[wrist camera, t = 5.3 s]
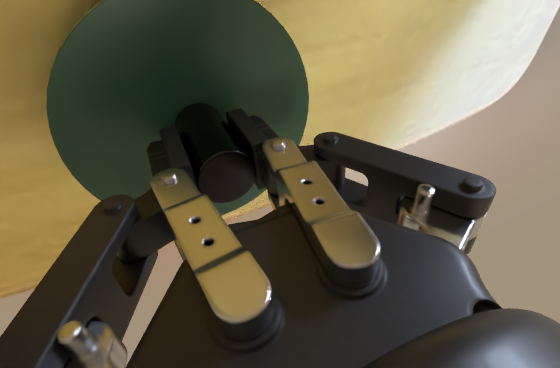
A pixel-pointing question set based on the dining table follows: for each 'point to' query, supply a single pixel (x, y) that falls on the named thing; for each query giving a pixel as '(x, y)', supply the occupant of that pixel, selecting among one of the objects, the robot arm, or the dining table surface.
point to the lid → (172, 92)
